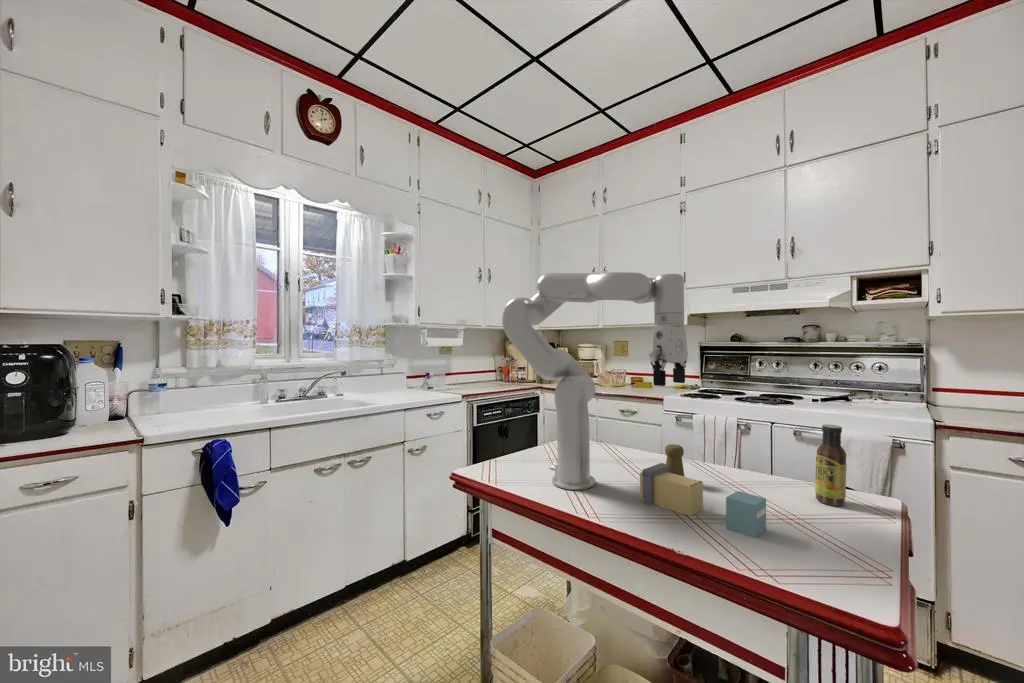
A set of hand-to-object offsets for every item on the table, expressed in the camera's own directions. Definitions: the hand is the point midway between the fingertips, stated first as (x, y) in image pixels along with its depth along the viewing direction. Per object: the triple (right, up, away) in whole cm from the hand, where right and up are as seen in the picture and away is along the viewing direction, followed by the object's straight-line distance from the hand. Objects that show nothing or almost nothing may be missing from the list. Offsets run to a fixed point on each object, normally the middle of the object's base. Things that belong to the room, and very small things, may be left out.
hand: (669, 384), depth 113 cm
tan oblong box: (-2, -30, -5) cm, 31 cm away
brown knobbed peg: (+6, -30, +11) cm, 33 cm away
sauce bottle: (+40, -30, -5) cm, 50 cm away
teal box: (+10, -30, -19) cm, 37 cm away
